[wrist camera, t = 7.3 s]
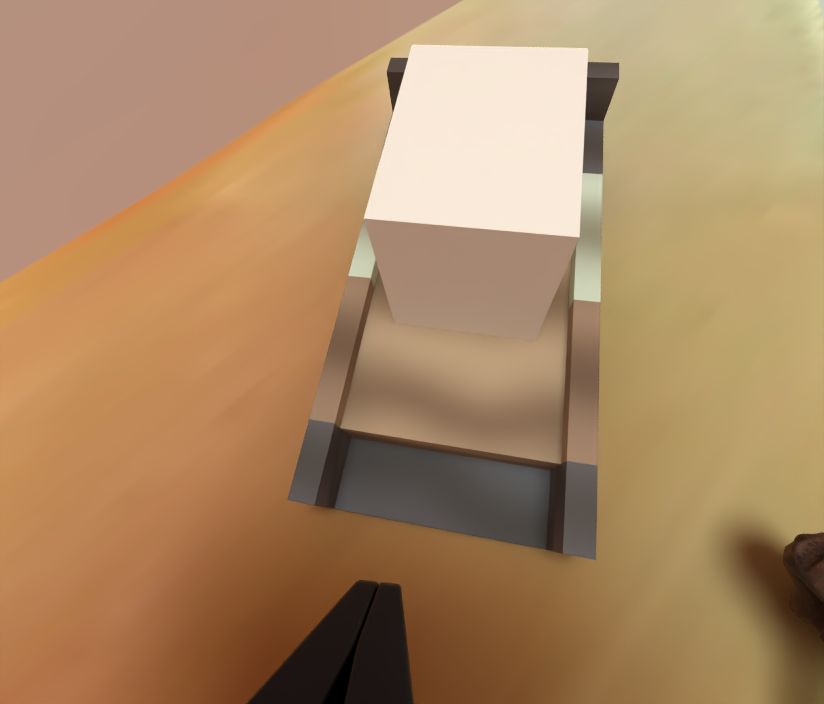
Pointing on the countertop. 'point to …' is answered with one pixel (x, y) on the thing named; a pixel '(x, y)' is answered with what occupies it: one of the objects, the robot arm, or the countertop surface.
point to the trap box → (468, 399)
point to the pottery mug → (807, 578)
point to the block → (480, 187)
